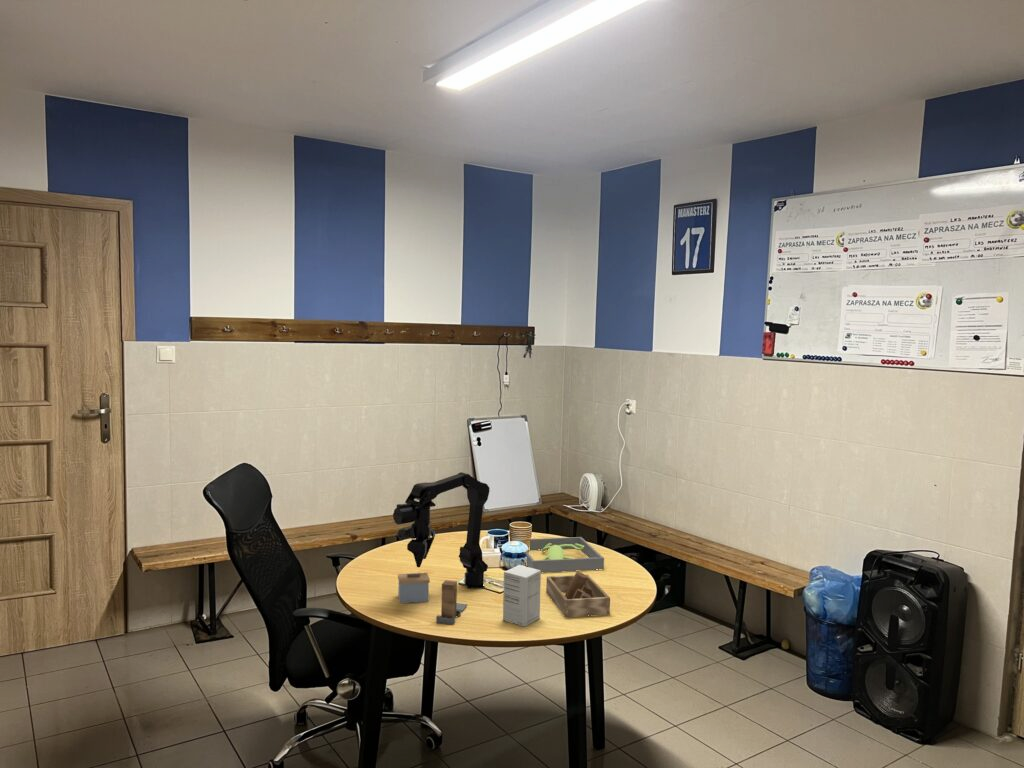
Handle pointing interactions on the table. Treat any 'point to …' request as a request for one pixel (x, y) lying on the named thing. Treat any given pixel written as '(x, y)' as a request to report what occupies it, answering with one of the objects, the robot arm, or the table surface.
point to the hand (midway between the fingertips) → (421, 562)
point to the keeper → (448, 618)
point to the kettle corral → (561, 565)
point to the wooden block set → (578, 587)
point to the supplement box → (521, 595)
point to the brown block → (449, 598)
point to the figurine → (559, 551)
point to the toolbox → (413, 587)
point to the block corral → (577, 606)
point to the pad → (461, 606)
